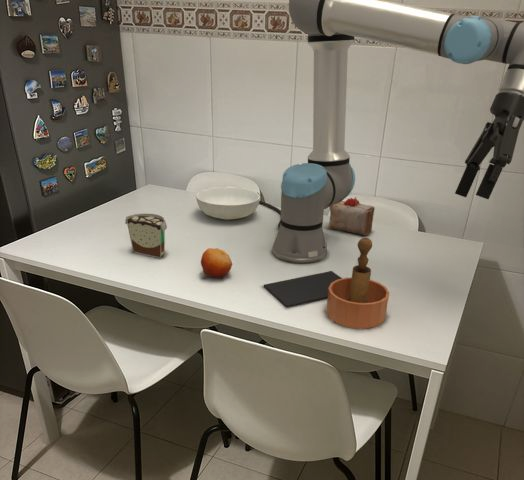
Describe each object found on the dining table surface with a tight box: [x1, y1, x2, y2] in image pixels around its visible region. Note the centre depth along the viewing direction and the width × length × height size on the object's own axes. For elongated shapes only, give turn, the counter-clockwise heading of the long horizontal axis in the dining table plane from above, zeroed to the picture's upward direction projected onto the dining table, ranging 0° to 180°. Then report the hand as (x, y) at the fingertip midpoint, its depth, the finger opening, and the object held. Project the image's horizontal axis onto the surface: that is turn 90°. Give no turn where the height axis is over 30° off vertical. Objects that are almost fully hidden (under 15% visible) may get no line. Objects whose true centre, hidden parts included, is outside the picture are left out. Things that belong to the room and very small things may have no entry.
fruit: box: [200, 247, 233, 279], centre depth 132 cm, size 8×8×8 cm
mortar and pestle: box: [346, 237, 373, 303], centre depth 113 cm, size 7×6×18 cm
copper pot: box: [325, 276, 390, 330], centre depth 117 cm, size 13×13×6 cm
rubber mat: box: [263, 270, 343, 309], centre depth 128 cm, size 12×20×1 cm, turn 117°
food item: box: [328, 196, 375, 236], centre depth 161 cm, size 14×8×10 cm, turn 59°
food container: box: [124, 212, 168, 259], centre depth 143 cm, size 12×6×10 cm, turn 65°
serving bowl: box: [195, 186, 261, 221], centre depth 171 cm, size 21×21×7 cm
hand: (470, 196), depth 116 cm, fingers open, 13 cm apart
